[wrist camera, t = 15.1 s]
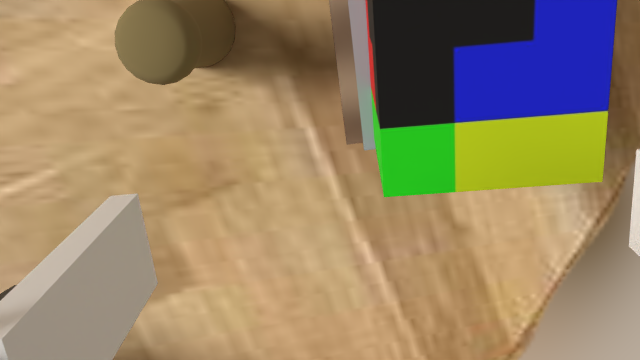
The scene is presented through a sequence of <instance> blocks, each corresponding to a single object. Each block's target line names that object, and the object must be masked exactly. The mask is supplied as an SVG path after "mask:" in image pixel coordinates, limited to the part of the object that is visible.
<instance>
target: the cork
mask: <svg viewBox="0 0 640 360" xmlns="http://www.w3.org/2000/svg"><path fill="white" fill-rule="evenodd" d="M234 39H235V23H234V19H233V14H232V12H231V11H230V9H229V7H228V6H227V4H226V2H225V1H224V0H139V1H137V2H136V3H134V4H133V5H131V6H129V7H128V8H127V9H126V11H125V12H124V13H123V15H122V16H121V17H120V19H119V20H118V23H117V27H116V30H115V47H116V50H117V53H118V56H119V59H120V60H121V61H122V63H123V64H124V66H125V67H126V69H127V70H128V71H130V72H131V73H132V74H133V75H134V76H135V77H137V78H139V79H141V80H143V81H146V82H148V83H153V84H161V85H165V84H170V83H175V82H178V81H179V80H181V79H183V78H184V77H186V76H188V75H189V74H190V73H191V72H192V70H193V69H194V68H201V67H206V66H211V65H214V64H215V63H217V62H219V61H220V60H222V59H223V58H224V57H225V56H226V55H227V53H228V52H229V51H230V49H231V47H232V44H233V42H234Z"/></svg>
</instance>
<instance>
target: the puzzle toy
mask: <svg viewBox="0 0 640 360" xmlns="http://www.w3.org/2000/svg"><path fill="white" fill-rule="evenodd" d="M365 2H366V18H367V34H368V50H369V66H370V81H371V97H372V113H373V129H374V141H375V147H376V152H377V158H378V164H379V170H380V176H381V182H382V188H383V194H384V197H392V196H406V195H421V194H435V193H449V192H463V191H477V190H491V189H506V188H520V187H534V186H548V185H562V184H576V183H591V182H602V180H603V168H604V156H605V144H606V131H607V119H608V107H609V95H610V82H611V70H612V58H613V45H614V33H615V21H616V9H617V0H365Z"/></svg>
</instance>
